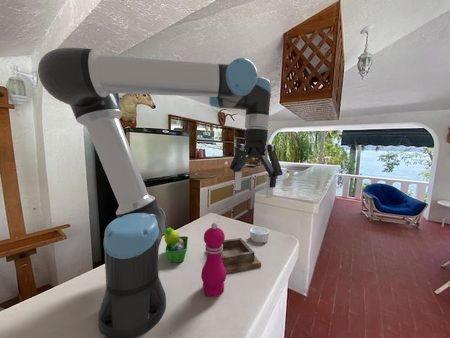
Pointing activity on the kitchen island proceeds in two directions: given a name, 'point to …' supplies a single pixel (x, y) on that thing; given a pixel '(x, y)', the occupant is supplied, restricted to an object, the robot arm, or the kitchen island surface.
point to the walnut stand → (238, 256)
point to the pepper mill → (213, 262)
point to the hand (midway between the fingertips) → (252, 193)
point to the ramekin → (259, 234)
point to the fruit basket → (175, 245)
